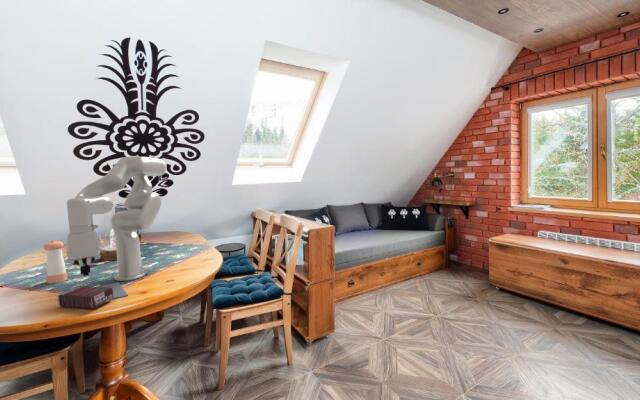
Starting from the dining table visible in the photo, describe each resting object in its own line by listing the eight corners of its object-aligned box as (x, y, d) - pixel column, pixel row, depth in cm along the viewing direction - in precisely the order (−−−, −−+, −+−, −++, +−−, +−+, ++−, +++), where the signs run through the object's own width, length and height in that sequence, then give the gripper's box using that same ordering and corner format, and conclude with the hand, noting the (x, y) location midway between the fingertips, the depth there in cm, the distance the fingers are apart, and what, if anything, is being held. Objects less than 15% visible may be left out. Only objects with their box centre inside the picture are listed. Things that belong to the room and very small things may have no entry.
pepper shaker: (59, 283, 140) (55, 241, 139) (42, 283, 140) (38, 242, 138) (71, 277, 148) (67, 238, 146) (54, 278, 147) (50, 238, 145)
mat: (118, 283, 139) (118, 281, 139) (127, 295, 125) (127, 294, 125) (78, 291, 130) (78, 290, 130) (84, 306, 115) (84, 305, 115)
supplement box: (58, 307, 115) (94, 309, 112) (56, 295, 114) (92, 296, 111) (80, 297, 123) (114, 298, 120) (78, 285, 122) (112, 286, 119)
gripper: (103, 225, 129) (106, 268, 131) (56, 231, 119) (60, 277, 121) (106, 228, 124) (109, 272, 125) (57, 233, 114) (62, 282, 115)
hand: (85, 275), depth 123 cm, fingers closed
